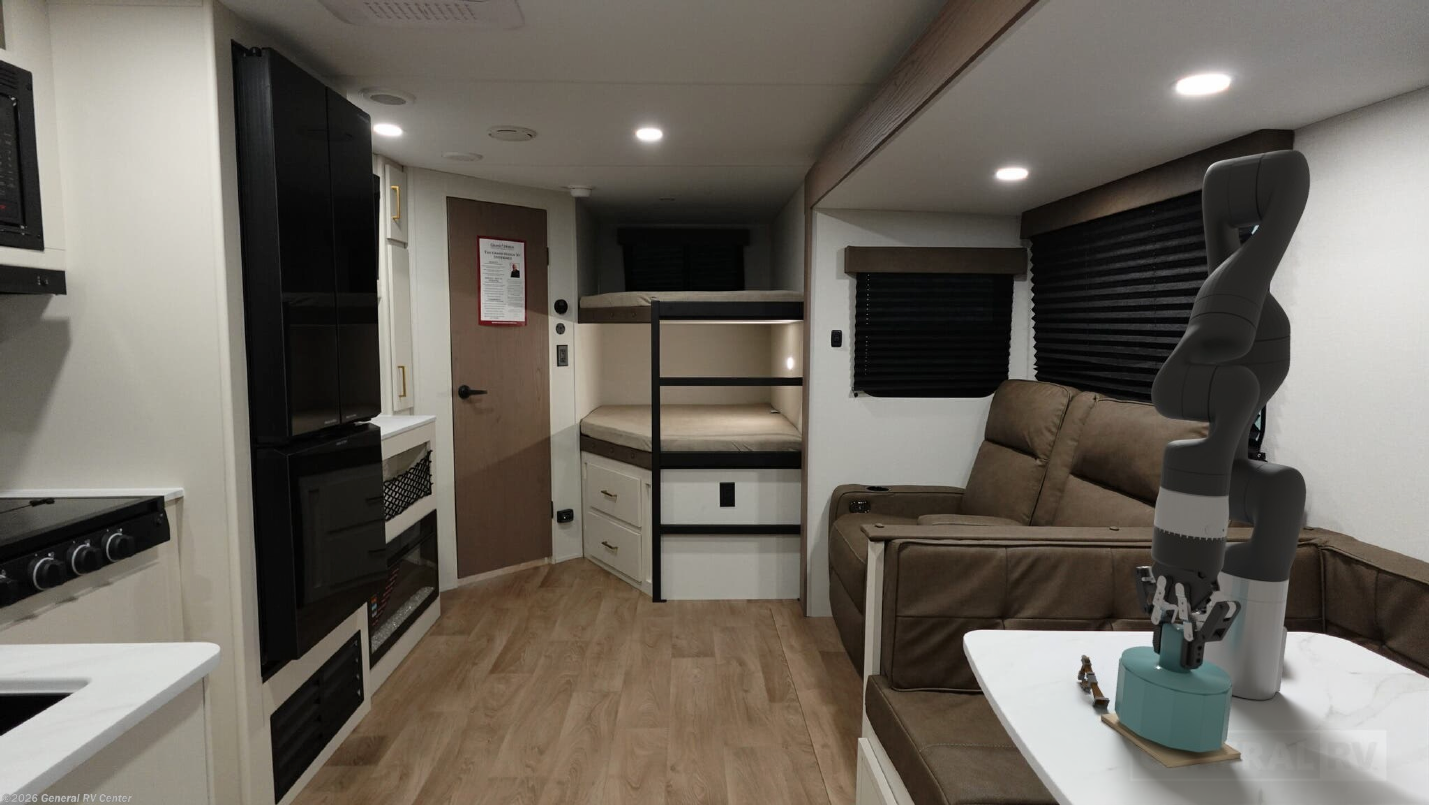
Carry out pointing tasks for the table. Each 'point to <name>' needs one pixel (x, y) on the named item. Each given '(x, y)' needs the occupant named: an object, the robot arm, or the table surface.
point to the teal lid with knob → (1173, 696)
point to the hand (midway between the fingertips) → (1175, 660)
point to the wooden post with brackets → (1091, 683)
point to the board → (1168, 754)
